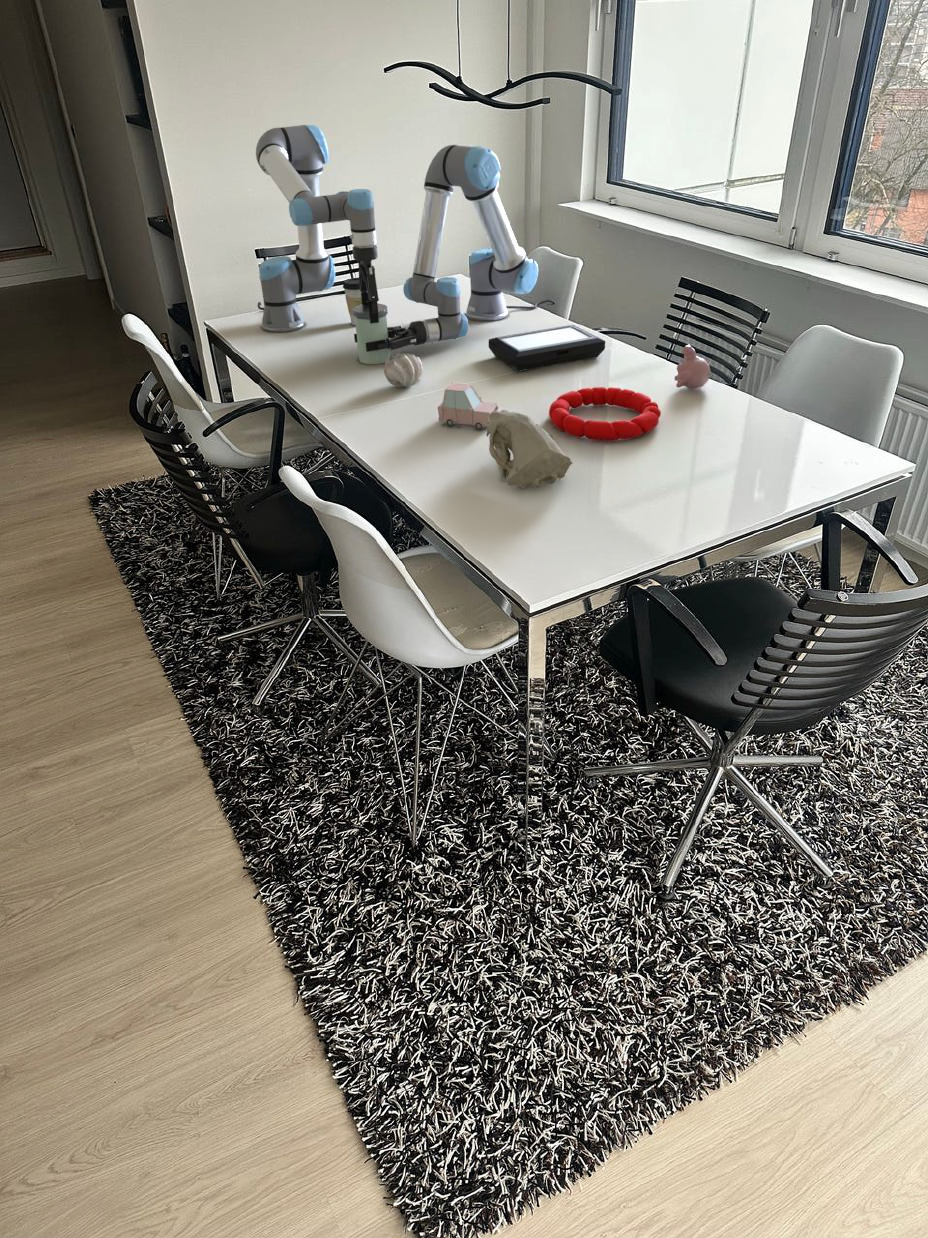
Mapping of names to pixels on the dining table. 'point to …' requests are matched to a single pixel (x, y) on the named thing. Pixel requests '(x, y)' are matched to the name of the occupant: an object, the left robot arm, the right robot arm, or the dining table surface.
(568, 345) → the electronic device
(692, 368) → the figurine
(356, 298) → the coffee cup
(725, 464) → the dining table surface
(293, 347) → the dining table surface
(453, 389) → the toy car
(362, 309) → the lid
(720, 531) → the dining table surface
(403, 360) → the seashell
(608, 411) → the dining table surface
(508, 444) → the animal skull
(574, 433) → the decorative ring
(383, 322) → the jar
